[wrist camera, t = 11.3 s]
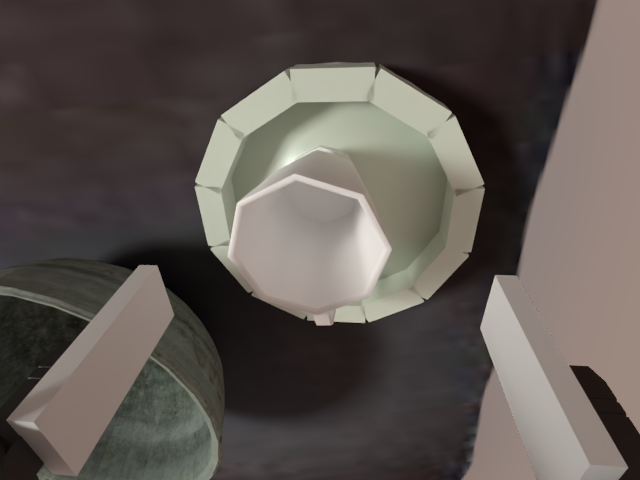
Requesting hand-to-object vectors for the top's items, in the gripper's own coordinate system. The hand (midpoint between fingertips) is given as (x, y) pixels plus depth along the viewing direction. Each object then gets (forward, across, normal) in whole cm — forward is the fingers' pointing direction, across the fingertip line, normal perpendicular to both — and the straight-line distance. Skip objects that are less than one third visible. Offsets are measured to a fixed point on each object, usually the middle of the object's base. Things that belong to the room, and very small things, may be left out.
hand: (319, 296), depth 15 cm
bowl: (+10, -17, -12) cm, 23 cm away
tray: (+10, 0, -1) cm, 10 cm away
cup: (+10, 0, -1) cm, 10 cm away
